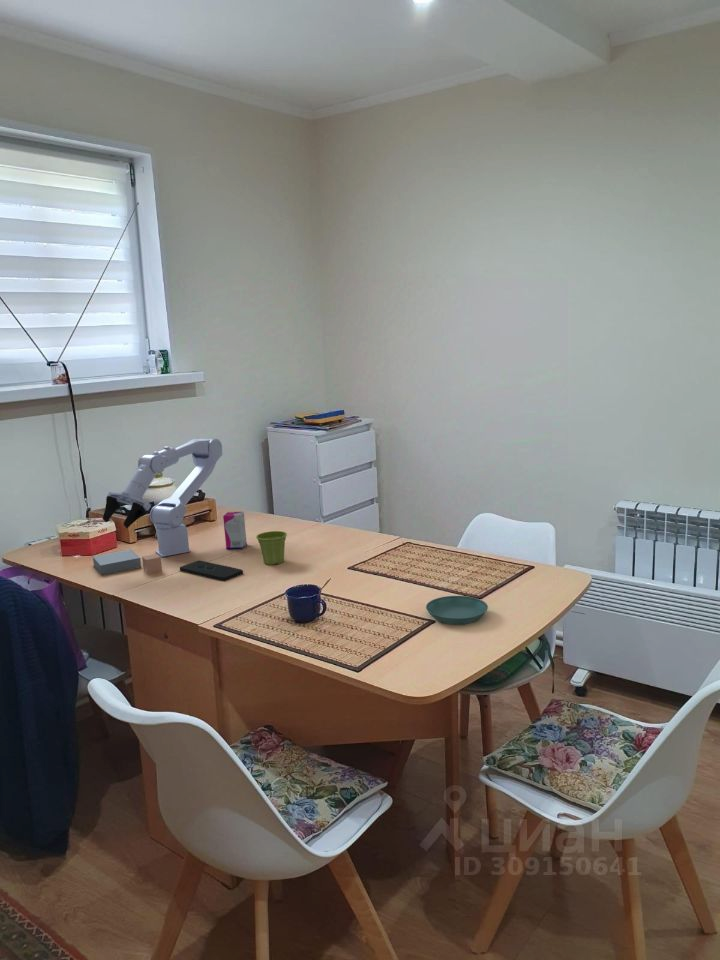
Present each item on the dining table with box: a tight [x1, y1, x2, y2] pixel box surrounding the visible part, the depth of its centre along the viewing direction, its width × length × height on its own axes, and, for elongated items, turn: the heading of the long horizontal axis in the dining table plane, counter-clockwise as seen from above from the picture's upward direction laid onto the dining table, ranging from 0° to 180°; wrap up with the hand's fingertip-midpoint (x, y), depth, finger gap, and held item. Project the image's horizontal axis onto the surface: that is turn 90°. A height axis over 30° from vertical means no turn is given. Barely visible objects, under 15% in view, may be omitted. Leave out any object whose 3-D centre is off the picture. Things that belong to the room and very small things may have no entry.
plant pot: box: [255, 530, 288, 566], centre depth 231 cm, size 9×9×9 cm
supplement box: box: [222, 511, 248, 550], centre depth 250 cm, size 6×6×12 cm
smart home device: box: [179, 560, 244, 582], centre depth 226 cm, size 8×2×20 cm
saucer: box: [425, 595, 489, 626], centre depth 182 cm, size 15×15×3 cm
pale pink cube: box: [141, 553, 163, 575], centre depth 230 cm, size 4×4×4 cm
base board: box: [92, 548, 142, 576], centre depth 236 cm, size 12×12×3 cm
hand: (114, 523), depth 229 cm, fingers open, 7 cm apart
